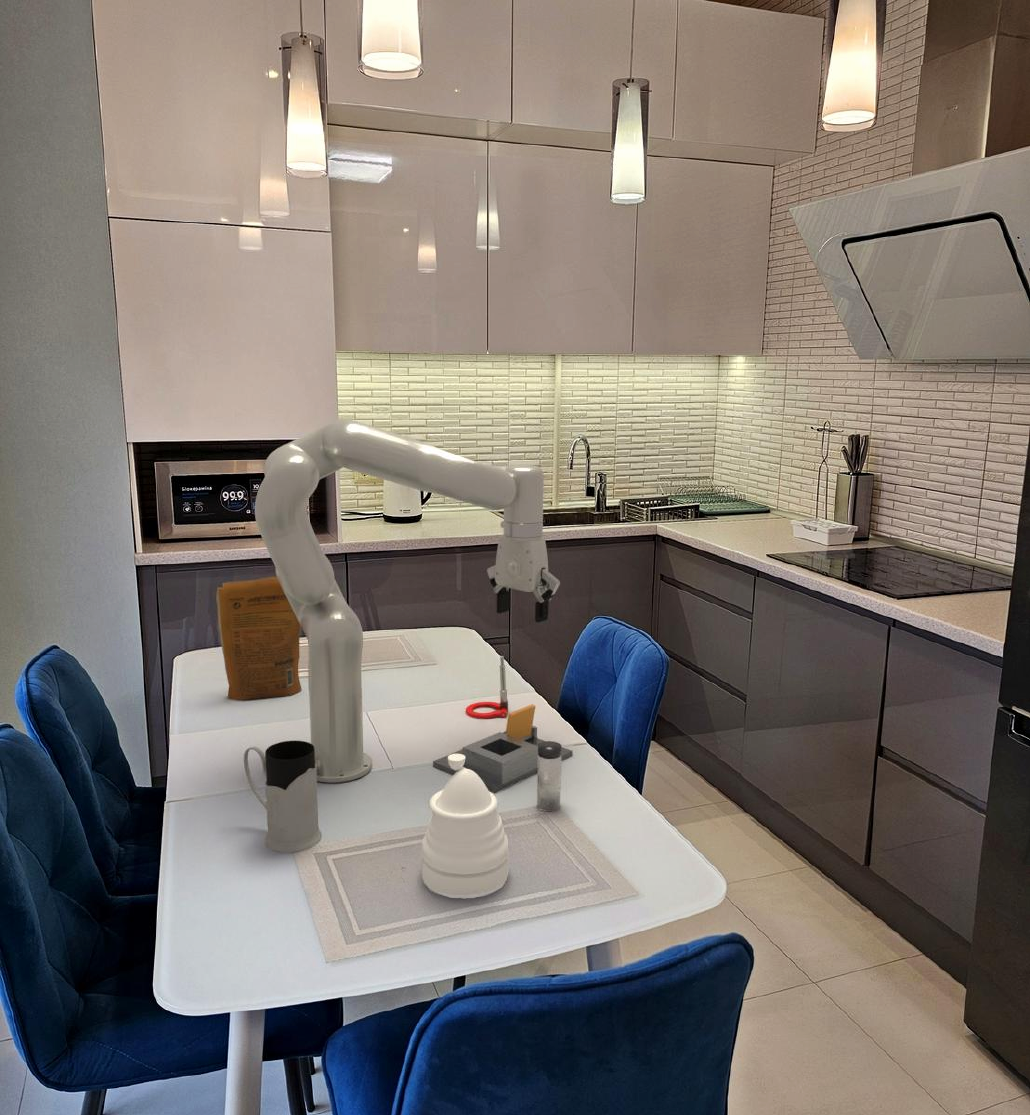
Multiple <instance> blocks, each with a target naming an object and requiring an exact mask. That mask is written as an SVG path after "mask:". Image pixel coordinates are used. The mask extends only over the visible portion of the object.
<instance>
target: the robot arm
mask: <svg viewBox="0 0 1030 1115" xmlns="http://www.w3.org/2000/svg"><path fill="white" fill-rule="evenodd" d="M343 468H344V469H346V470H349V471H353V472H356V473H360V474H363V475H365V476H366V475H367V476H370V477H374V478H377V479H380V480H381V479H382V480H384V481H388V482H391V483H393V484H397V485H401V486H405V487H407V488H412V489H414V490H418V491H421V492H426V493H430V494H431V493H432V494H434V495H435V494H436V495H439V496H444V497H446V498H450V499H453V500H457V501H458V502H463V503H465V504H466V503H467V504H470V505H472V506H473V505H474V506H477V507H480V508H483V509H486V510H490V511H500V510H503V520H502V521H501V522H500V528H502V529H503V534H502V535H500V536H499V540H498V544H497V550H496V557H495V565H493V566H490V567H488V568H487V569H486V572H487V575H488V578H489V581H490V584H491V586H492V587H493V592H494V593H495V594H496V614H502V613H506V612H509V611H510V601H511V600H510V599H511V598H510V596H511V595H510V590H509V589H511V590H517V591H521V592H528V593H531V592H532V593H533V594H534V596H535V598H536V600H537V601H536V602H534V603H535V606H534V608H535V609H534V621H535V623H542V622H545V621H548V619H549V601H551V600H552V598H553V597H554V596H555V595H556V594H557V590H558V589H559V586H561V582H560V580H559V579H558V578H557V577H555V576H554V575H553V574H552V573H550V571H549V560H548V550H547V549H548V548H547V544H546V543H547V542H546V538H544V536H543V535H544V534H543V533H544V531H543V530H544V528H543V527H544V524H543V523H544V521H543V520H544V485H545V484H544V471H543V469H542V467H539V466H538V465H533V464H532V465H531V464H513V465H510V466H503V465H491V464H484V463H482V462H478V461H475V460H472V459H469V458H465V457H462V456H459V455H456V454H453V453H452V452H448V451H446V450H444V449H441V448H439V447H437V446H434V445H432V444H430V443H426V442H424V441H422V440H418V439H414V438H412V437H407V436H405V435H402V434H399V433H395V432H391V431H389V430H385V429H383V428H379V427H377V426H373V425H369V424H366V423H363V422H360V421H357V420H353V419H348V418H341V419H337V420H334V421H332V422H330V423H328V424H326V425H324V426H321V427H319V428H318V429H315V430H313V431H311V432H309V433H307V434H305V435H303V436H301V437H299V438H296V439H294V440H292V441H290V442H288V443H286V444H283V445H281V446H280V447H277V448H276V449H275V450H274V451H272V452H271V453H270V454H269V455H268V457H267V458H266V459H265V462H264V467H263V469H264V471H263V474H264V478H263V480H262V482H261V484H260V485H259V488H258V490H257V495H256V496H255V497H256V498H255V502H254V516H255V522H256V525H257V529H258V531H259V534H260V535H261V538H262V540H263V542H264V543H263V544H264V545H265V547H266V549H267V552H268V554H269V557H270V559H271V560H272V563H273V564H274V566H275V575H276V577H277V578H278V581H279V583H280V585H281V587H282V589H283V591H284V593H285V595H286V597H287V599H288V601H289V603H290V605H291V607H292V609H293V611H294V613H295V615H296V617H297V619H298V621H299V623H300V625H301V629H302V632H303V633H304V634H305V637H306V639H307V643H308V644H307V645H308V667H307V668H308V669H307V672H308V673H307V674H308V696H309V697H308V698H309V700H308V701H309V726H310V727H309V729H310V743H311V744H312V745H313V746H314V748H315V768H316V771H317V782H322V783H332V784H333V783H345V782H350V781H354V780H357V779H359V778H362V777H364V776H365V775H367V774H369V772H370V771H371V770H372V767H373V759H372V758H371V756H370V755H368V754H367V753H366V752H364V724H363V721H364V720H363V686H362V663H363V662H362V660H363V647H364V632H363V628H362V624H361V621H360V619H359V617H358V616H357V613H355V612H354V611H353V609H352V608H351V607H350V606H349V605H348V603H347V600H346V599H345V598H344V596H343V592H341V589H340V586H339V585H338V583H337V581H336V579H335V572H334V567H333V566H332V563H331V561H330V559H328V557H327V556H326V554H325V552H324V551H323V549H322V547H321V544H320V542H319V540H318V538H317V536H316V534H315V532H314V529H313V527H312V524H311V522H310V519H309V518H308V514H307V512H308V511H307V505H308V502H309V499H310V497H311V496H312V495H313V494H314V492H315V490H316V489H317V487H318V484H319V482H320V480H321V479H324V478H326V477H328V476H329V475H332V474H333V473H335V472H338V471H339V470H342V469H343ZM547 587H548V588H547Z"/></svg>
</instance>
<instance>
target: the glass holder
mask: <svg viewBox="0 0 1030 1115" xmlns="http://www.w3.org/2000/svg"><path fill="white" fill-rule="evenodd" d="M250 750H253V751H255V752H256V753H257V754H258V755H259V757H260V759H261V766H262V772H263V775H264V776H265V777H266V781H265V799H266V800H265V799H264V797H263V796H262V794H261V793H260V791H259V790H258V788H257V787H256V785H255V783H254V782H255V781H254V780H253V777H252V775H251V771H250V767H249V752H250ZM264 752H265V753H264ZM264 752H263V751H262V750H261V748H259V747H258V746H250V747H248V748H246V750H245V751H244V754H243V766H244V767H243V768H244V772H245V776H246V779H247V782H248V784H249V787H250V788H251V791H252V792H253V794H254V796H256V798H257V799H258V800H259V802H260V804H262V806H263V807H264V808H265V810H266V819H267V820H266V822H267V835H266V837H265V841H264V843H265V845H266V847H267V848H268V849H270V850H272V851H274V852H279V853H284V854H285V853H298V852H303V851H305V850H308V849H311V848H312V847H314V846H316V845H317V844H319V842H320V841H321V839H322V836H323V835H322V832H321V830H320V827H319V806H318V804H319V803H318V799H319V798H318V781H317V771H316V768H315V748H314V746H313V745H312V744H311V742H308V741H304V740H285V741H280V742H276V743H273V744H272V745H270V746H268V747H267V748H266V749H265V751H264Z"/></svg>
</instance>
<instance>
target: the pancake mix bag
mask: <svg viewBox="0 0 1030 1115" xmlns="http://www.w3.org/2000/svg"><path fill="white" fill-rule="evenodd" d="M221 585H222V587H217V588H216V594H215V597H216V599H215V600H216V606H217V626H218V632H219V639H220V640H219V641H220V645H221V648H222V649H221V650H222V655H223V656H222V657H223V660H224V661H223V662H224V668H225V669H224V670H225V673H226V677H227V678H226V679H227V683H228V692H227V696H226V697H227V698H228V699H230V700H234V701H238V702H239V701H243V702H244V701H253V700H261V699H271V698H278V697H290V696H294V695H296V694H298V693H300V692H301V691H302V688H303V687H302V685H301V681H300V676H299V674H300V673H299V661H300V636H301V631H302V630H301V629H302V627H301V625H300V623H299V621H298V619H297V617H296V615H295V613H294V611H293V609H292V607H291V605H290V603H289V601H288V599H287V597H286V595H285V593H284V591H283V589H282V587H281V585H280V583H279V581H278V578H277V576H270V577H262V578H257V579H256V578H255V579H250V580H237V581H229V582H228V581H227V582H222V584H221Z"/></svg>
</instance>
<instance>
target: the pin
mask: <svg viewBox="0 0 1030 1115" xmlns="http://www.w3.org/2000/svg"><path fill="white" fill-rule="evenodd" d="M544 741H545V742H541V743H539V744H538V772H537V778H536V779H537V780H536V781H537V785H536V786H537V789H536V807H537V809H539V808H540V809H542V810H541V811H543V810H546V811H545V812H553V811H552V810H555V811H558V810H559V809H560V808H561V788H562V787H561V786H562V784H561V782H562V761H561V750H562V747H563V746H562V744H561V743H560V742H557V741H551V740H547V741H546V740H544ZM540 809H539V810H540ZM557 809H558V810H557Z"/></svg>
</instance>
